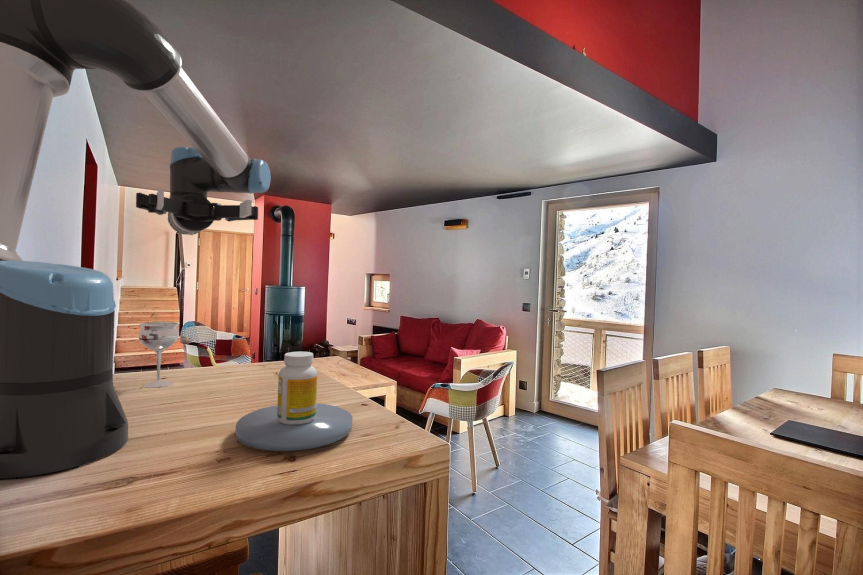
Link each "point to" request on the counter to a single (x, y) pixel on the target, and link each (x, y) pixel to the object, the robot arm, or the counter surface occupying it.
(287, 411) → the supplement bottle
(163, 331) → the wineglass
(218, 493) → the counter surface
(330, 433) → the slate dish
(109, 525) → the counter surface
